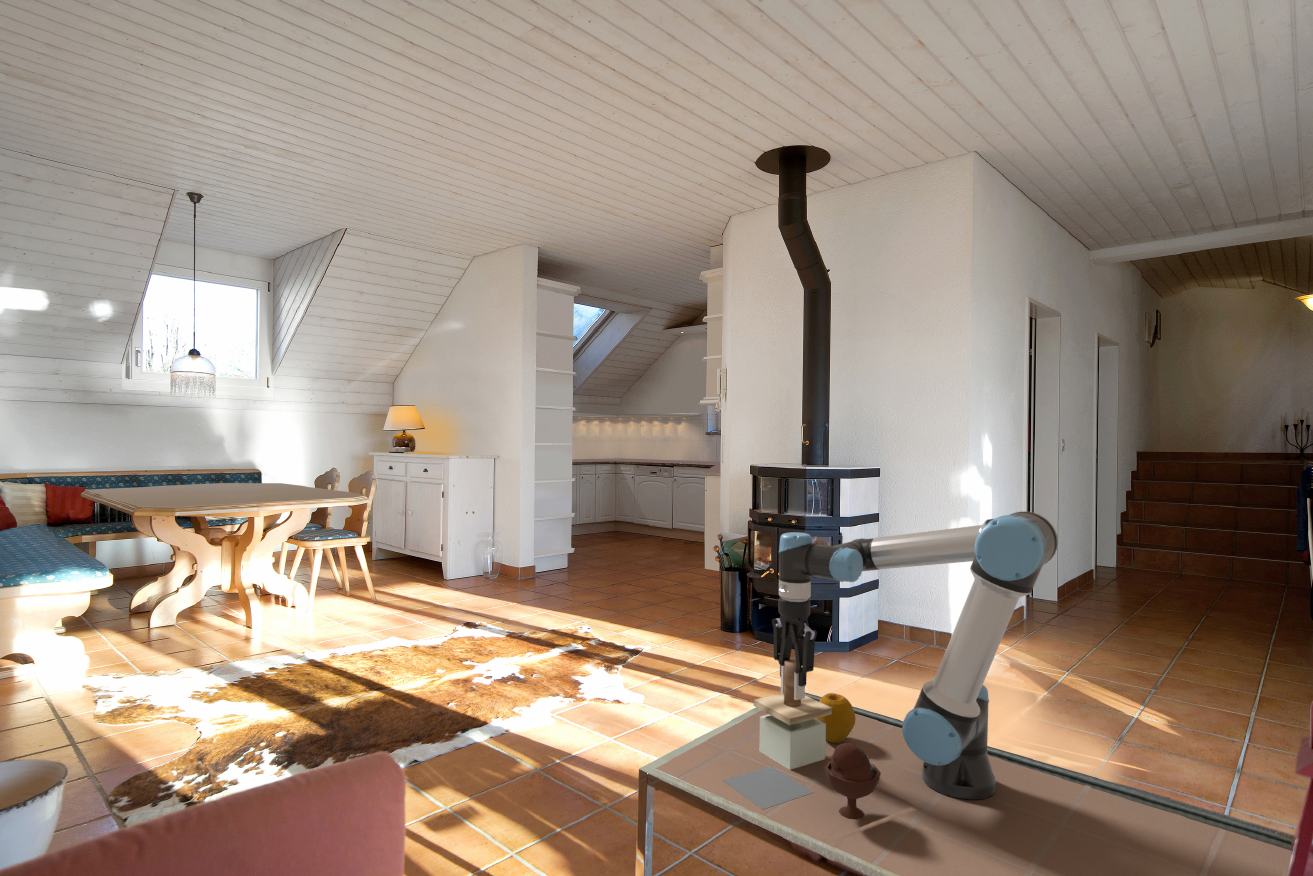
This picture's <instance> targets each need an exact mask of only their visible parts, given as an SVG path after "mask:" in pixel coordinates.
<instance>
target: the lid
mask: <svg viewBox="0 0 1313 876" xmlns="http://www.w3.org/2000/svg"><path fill="white" fill-rule="evenodd" d="M796 670H797V666H796V659H793V658H792V659H791V658H790V660H785V668H784V694H782V693H781V692H780V693H778V694H772V695H768V696H763V697H759V698H756V699H753V707H755V708H756V709H759V710H760V711H762V712H765V713H766V714H767V715H768V714H770V715H772V716H773V717H775V718H777V719H779V720H781V721H783V722H785V723H787V724H788V725H792V724H796V723H800V722H804V721H808V720H812V719H816V718H819V717H823V716H827V715H831V714H832V708H831V707H829V706H827V705H825V704H822V703H820V702H819V701H818V700H816V699H814V698H812V697H810V696H808V695H806V694H805V698H803V699H799V700H795V699H794V672H795V671H796Z"/></svg>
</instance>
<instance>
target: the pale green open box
mask: <svg viewBox="0 0 1313 876" xmlns="http://www.w3.org/2000/svg"><path fill="white" fill-rule="evenodd" d="M758 739H759V745H758V746H759V747H758V748H759V749H758V750H759V751H758V752H760V753H761V754H763V755H765V756H766V757H767V758H770V759H771V760H773V761H775V762H776V763H777V764H779V765H781V766H783V768H786V769H787V770H789V771H790V770H794V769H798V768H800V767H804V766H808V765H810V764H814V763H817V762H820V761H823V760H826V741H827V740H826V724H825V723H823V722H821V721H819V720H817V719H816V718H815V719H812V720H808V721H804V722H800V723H796V724H792V725H788V724H787V723H785V722H783V721H781V720H779V719H777V718H775V717H773V716H772V715H770V714H768V713H767V714H765V715H760V716H759V738H758Z"/></svg>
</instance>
